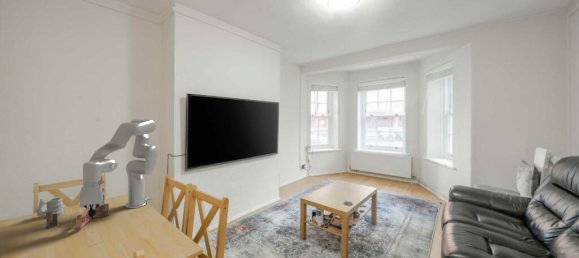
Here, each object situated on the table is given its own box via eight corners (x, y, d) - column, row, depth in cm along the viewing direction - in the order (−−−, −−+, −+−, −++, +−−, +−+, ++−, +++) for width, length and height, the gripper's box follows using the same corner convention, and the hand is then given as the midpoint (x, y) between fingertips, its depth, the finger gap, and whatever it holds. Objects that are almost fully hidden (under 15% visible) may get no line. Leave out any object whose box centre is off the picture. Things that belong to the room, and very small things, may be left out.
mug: (66, 213, 140) (66, 194, 139) (41, 221, 129) (40, 201, 128) (59, 211, 142) (58, 193, 142) (33, 219, 131) (32, 199, 130)
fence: (108, 213, 142) (108, 200, 141) (108, 215, 139) (108, 202, 139) (47, 226, 124) (46, 211, 124) (46, 229, 121) (45, 213, 121)
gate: (88, 218, 133) (87, 207, 132) (91, 218, 133) (91, 206, 133) (76, 230, 120) (76, 216, 120) (80, 229, 121) (80, 216, 120)
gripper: (111, 181, 130) (111, 211, 131) (78, 182, 125) (78, 215, 125) (106, 184, 123) (106, 217, 124) (71, 187, 118) (71, 221, 118)
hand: (92, 216), depth 125 cm, fingers closed
